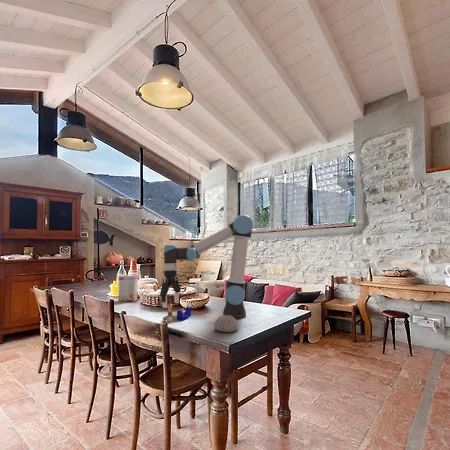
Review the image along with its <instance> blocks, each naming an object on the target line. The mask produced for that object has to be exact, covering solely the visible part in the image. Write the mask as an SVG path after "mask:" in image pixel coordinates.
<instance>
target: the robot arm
mask: <svg viewBox="0 0 450 450" xmlns="http://www.w3.org/2000/svg"><path fill="white" fill-rule="evenodd" d="M253 228H254V221H253V219H252V218H251V217H250V216H249V215H246V214H240V215H237V216H236V217H235V218H234V221H233V222H231V223H229V224H228V225H227V227H225V228H222V229H220V230H219V231H217V232H215V233H213V234H211V235H209V236H207V237H206V238H204V239H201V240H200V241H198V242H196V243H194V244H192V245H190V246H188V247H177V244H165V245H163V246H164V247H163V269H164V271H163V276H164V278H163V279H162V284H161V289H160V292H159V296H160V297H162V298H161V301H162V303H161V304H162V308H164V309H168V296H167V295H168V292H169V290H170V287H172V289H173V290H174V293H173V296H174V297H173V299H174V304H179V303H180V301H179V300H180V299H179V298H180V297H179V296H180V295H179V293H181V285H180V282H179V278H178V275H177V273H178V272H177V269H178V268H177V266H178V265H177V261H193V260H196V258H197V256H199V255H200V254H202V253H205V252H206V251H208V250H210V249H212V248H214V247H216V246H218V245H220V244H222V243H224V242H226V241H229V240H230V239H232V238H233V247H232V256H231V262H230V272H229V277H228V279H227V280H225V284H224V286H225V289H224V290H225V293H224V298H225V303H224V304H225V305H224V308H223V311H222V316H223V315H231V316H233V317H234V318H235V319H236V320H237V319H243V318H246V317H247V311H246V309H245V305H244V300H245V298H246V284H247V283H246V281H245V270H246V263H247V253H248V246H249V245H248V244H249V240H250V239H251V238H252V232H253Z"/></svg>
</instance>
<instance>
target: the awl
mask: <svg viewBox="0 0 450 450" xmlns="http://www.w3.org/2000/svg"><path fill="white" fill-rule="evenodd" d="M172 313H173V303H169V304H168V303H167V316H168V317H172Z"/></svg>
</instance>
